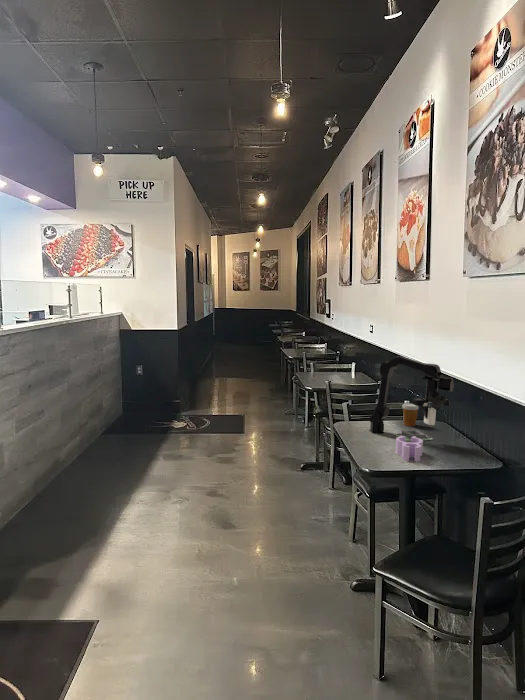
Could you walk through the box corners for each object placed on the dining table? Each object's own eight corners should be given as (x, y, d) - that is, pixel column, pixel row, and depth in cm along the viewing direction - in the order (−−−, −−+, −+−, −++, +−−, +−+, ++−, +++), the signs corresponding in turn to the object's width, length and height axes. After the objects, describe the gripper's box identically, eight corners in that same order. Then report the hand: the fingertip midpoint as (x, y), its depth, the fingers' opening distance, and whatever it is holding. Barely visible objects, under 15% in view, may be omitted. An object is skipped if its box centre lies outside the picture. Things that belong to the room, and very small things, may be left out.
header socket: (410, 439, 283) (410, 435, 283) (401, 434, 293) (401, 430, 293) (425, 438, 285) (425, 434, 285) (416, 433, 295) (416, 429, 295)
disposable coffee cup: (403, 422, 323) (404, 402, 322) (419, 424, 319) (420, 404, 318) (399, 425, 315) (400, 405, 313) (416, 427, 310) (417, 407, 309)
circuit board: (404, 441, 282) (404, 438, 282) (394, 435, 293) (394, 432, 293) (432, 440, 285) (432, 437, 285) (421, 434, 297) (421, 431, 297)
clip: (425, 462, 247) (426, 448, 247) (398, 461, 249) (398, 446, 248) (419, 450, 267) (420, 436, 266) (394, 448, 269) (394, 435, 268)
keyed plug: (429, 425, 278) (430, 406, 277) (423, 422, 283) (425, 404, 282) (435, 425, 279) (437, 406, 277) (430, 422, 284) (431, 404, 283)
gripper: (422, 392, 269) (420, 422, 271) (456, 391, 273) (454, 421, 275) (412, 387, 280) (410, 417, 282) (445, 387, 284) (442, 416, 286)
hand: (429, 418), depth 281 cm, fingers closed on keyed plug, 4 cm apart
